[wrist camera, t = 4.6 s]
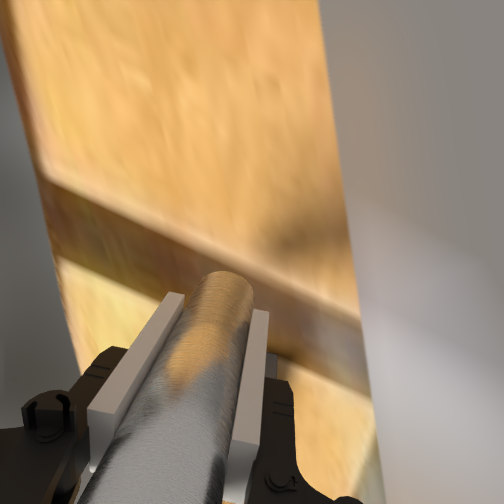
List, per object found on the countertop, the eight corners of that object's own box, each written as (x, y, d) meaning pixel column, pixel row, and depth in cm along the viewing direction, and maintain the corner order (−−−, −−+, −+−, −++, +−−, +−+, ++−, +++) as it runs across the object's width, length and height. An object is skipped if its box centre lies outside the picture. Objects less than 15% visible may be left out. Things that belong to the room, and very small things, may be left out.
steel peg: (248, 329, 18) (158, 864, 5) (191, 317, 18) (-50, 813, 5) (259, 278, 16) (177, 820, 4) (198, 265, 17) (-106, 753, 4)
